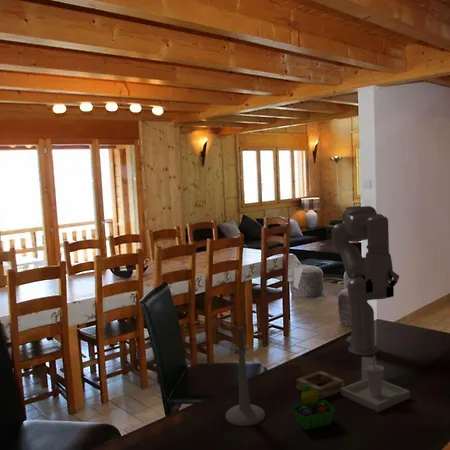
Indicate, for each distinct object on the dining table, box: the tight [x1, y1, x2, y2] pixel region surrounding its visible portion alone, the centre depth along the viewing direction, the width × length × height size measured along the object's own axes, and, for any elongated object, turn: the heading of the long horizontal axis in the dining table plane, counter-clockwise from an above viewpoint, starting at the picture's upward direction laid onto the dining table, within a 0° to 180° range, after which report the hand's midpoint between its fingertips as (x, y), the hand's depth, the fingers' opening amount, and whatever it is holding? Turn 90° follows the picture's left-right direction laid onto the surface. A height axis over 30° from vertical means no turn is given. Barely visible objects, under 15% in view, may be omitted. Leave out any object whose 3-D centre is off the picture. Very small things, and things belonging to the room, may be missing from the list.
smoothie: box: [364, 355, 386, 397], centre depth 168 cm, size 6×6×14 cm
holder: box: [295, 370, 346, 401], centre depth 177 cm, size 12×12×4 cm
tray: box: [340, 377, 411, 413], centre depth 169 cm, size 16×16×2 cm
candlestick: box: [225, 326, 266, 427], centre depth 159 cm, size 13×13×30 cm
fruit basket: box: [292, 384, 336, 431], centre depth 153 cm, size 11×9×11 cm
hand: (379, 294), depth 185 cm, fingers open, 9 cm apart
